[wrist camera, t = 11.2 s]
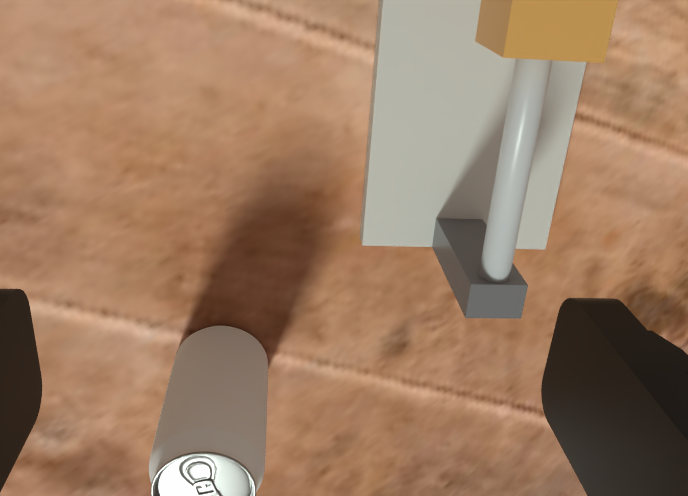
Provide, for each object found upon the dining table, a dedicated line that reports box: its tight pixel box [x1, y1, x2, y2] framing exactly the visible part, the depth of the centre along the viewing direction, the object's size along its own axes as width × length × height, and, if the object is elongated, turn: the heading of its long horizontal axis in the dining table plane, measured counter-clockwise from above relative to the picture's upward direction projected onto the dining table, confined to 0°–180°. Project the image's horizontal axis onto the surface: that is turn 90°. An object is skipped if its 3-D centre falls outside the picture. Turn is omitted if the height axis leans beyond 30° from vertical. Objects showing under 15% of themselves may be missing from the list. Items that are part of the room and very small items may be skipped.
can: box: [149, 326, 268, 496], centre depth 41 cm, size 6×6×12 cm
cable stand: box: [360, 0, 586, 318], centre depth 33 cm, size 12×26×11 cm, turn 176°
